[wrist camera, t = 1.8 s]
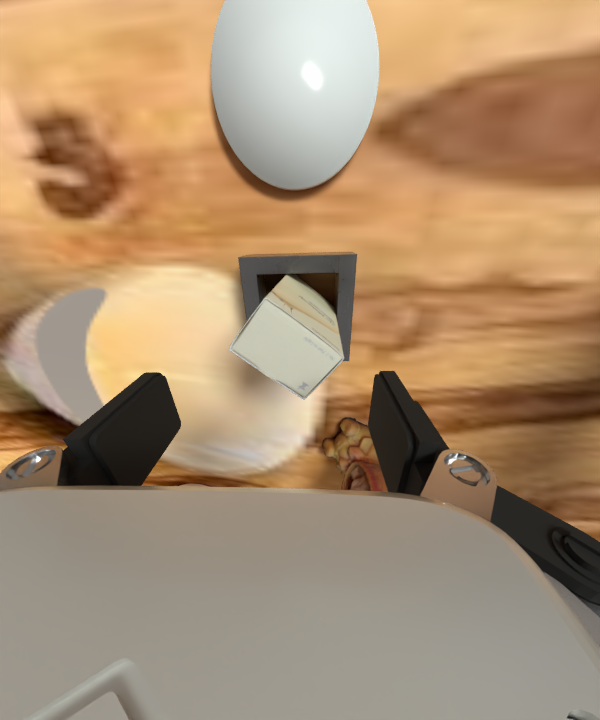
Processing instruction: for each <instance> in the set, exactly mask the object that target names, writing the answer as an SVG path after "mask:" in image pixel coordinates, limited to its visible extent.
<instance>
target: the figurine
mask: <svg viewBox="0 0 600 720" xmlns="http://www.w3.org/2000/svg"><path fill="white" fill-rule="evenodd" d="M340 427H341V429H342V430H341V431H340V432H338V435H337V436H336V437H335V438H334V439H330V438H328V439H326V438H325V440H324V441H323V443H324V444H323V447H324V448H325V452H324V453H325V455H326V456H327V457H332V458H335V459H336V461H337V464H336V467H337V468H338V469H340V470H341V471H342V472H341V474H344V480H343V482H342V490H360V491H381V492H388V490H387V487H386V484H385V480H384V477H383V474H382V471H381V467H380V464H379V461H378V458H377V454H376V451H375V448H374V445H373V441H372V438H371V435H370V432H369V427H368V426H367V425H364V424H362V423H360V422H357V421H356V420H355V418H354V419H352V418H351V417H350V418H343V419H342V421H341V424H340Z"/></svg>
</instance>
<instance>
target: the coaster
mask: <svg viewBox="0 0 600 720" xmlns="http://www.w3.org/2000/svg"><path fill="white" fill-rule="evenodd" d="M211 82H212V93H213V98H214V103H215V108H216V112H217V115H218V119H219V122H220V125H221V127H222V130H223V132H224V135H225V137H226V139H227V140H228V142H229V144H230V146H231V148H232V149H233V151H234V152H235V154H236V155H237V157H238V158H239V159H240V160H241V162H242V163H243V164H244V165H245V166H246V167H247V168H248V169H249V170H250V171H251V172H252V173H253V174H254V175H255V176H257V177H258V178H259V179H261V180H262V181H264V182H266V183H267V184H269V185H271V186H274V187H277V188H279V189H284V190H293V191H299V190H307V189H310V188H313V187H316V186H318V185H321V184H323V183H325V182H326V181H328V180H329V179H331V178H332V177H334V176H335V175H336V174H337V173H338V172H339V171H341V169H342V168H343V167H344V166H345V165H346V164H347V163H348V162H349V160H350V159H351V157H352V156H353V155H354V153H355V152H356V150H357V148H358V146H359V145H360V143H361V141H362V139H363V137H364V134H365V132H366V130H367V127H368V125H369V122H370V119H371V116H372V113H373V110H374V105H375V101H376V97H377V89H378V82H379V48H378V41H377V35H376V29H375V26H374V22H373V18H372V14H371V12H370V9H369V6H368V4H367V1H366V0H225V2H224V4H223V7H222V9H221V12H220V14H219V18H218V21H217V25H216V28H215V33H214V39H213V44H212V54H211Z"/></svg>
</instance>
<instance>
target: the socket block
mask: <svg viewBox="0 0 600 720" xmlns="http://www.w3.org/2000/svg"><path fill="white" fill-rule="evenodd" d="M238 259H239V266H240V273H241V281H242V288H243V295H244V302H245V310H246V317H247V321H248V319H249V318H250V317H251V315H252V314H253V313H254V311H255V310H256V309H257V307H258V306H259V305H260V303H261V302H262V301H263V299H264V298H265V297H266V286H265V275H264V274H294V273H336V278H335V304H334V307H335V312H336V318H337V323H338V328H339V334H340V339H341V344H342V350H343V354H344V360H343V361H349V354H350V340H351V327H352V314H353V301H354V287H355V274H356V261H357V254H355V253H353V252H328V253H292V254H257V255H246V256H242V257H238Z"/></svg>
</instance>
